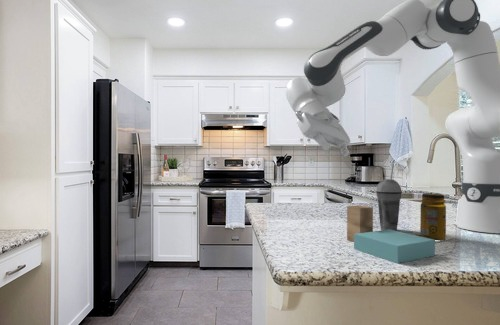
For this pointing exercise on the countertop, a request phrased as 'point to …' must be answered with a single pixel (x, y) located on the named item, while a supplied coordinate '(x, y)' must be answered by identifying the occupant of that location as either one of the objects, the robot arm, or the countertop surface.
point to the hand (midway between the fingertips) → (337, 151)
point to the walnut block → (359, 220)
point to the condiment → (433, 217)
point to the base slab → (394, 245)
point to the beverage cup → (388, 203)
